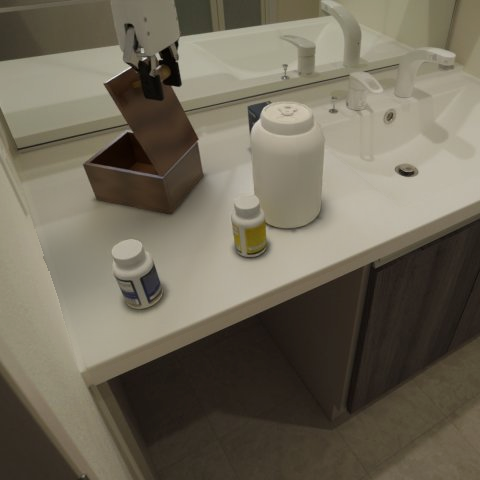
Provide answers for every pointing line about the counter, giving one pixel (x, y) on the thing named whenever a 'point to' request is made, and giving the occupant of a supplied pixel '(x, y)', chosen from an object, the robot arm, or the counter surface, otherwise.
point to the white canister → (288, 164)
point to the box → (255, 113)
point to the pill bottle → (136, 274)
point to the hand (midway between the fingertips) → (163, 90)
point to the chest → (141, 176)
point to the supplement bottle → (249, 226)
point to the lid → (153, 118)
